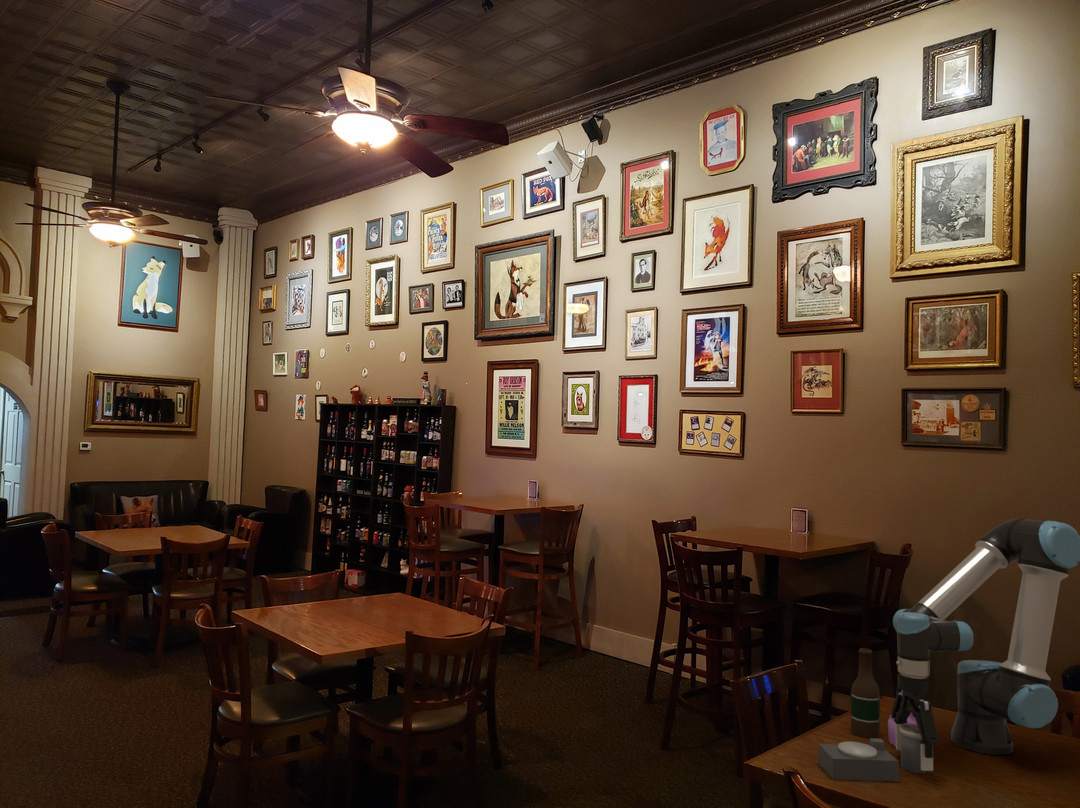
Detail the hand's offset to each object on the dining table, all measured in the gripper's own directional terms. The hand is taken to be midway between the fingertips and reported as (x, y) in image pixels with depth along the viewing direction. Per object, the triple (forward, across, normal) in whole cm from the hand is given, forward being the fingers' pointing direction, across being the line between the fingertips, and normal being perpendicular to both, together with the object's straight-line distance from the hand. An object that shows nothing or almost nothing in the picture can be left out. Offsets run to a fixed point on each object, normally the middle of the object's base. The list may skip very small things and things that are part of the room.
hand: (913, 759), depth 196 cm
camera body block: (+2, +4, -16) cm, 17 cm away
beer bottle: (+2, -25, -2) cm, 25 cm away
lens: (+2, 0, 0) cm, 2 cm away
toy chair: (+2, -16, +6) cm, 17 cm away
